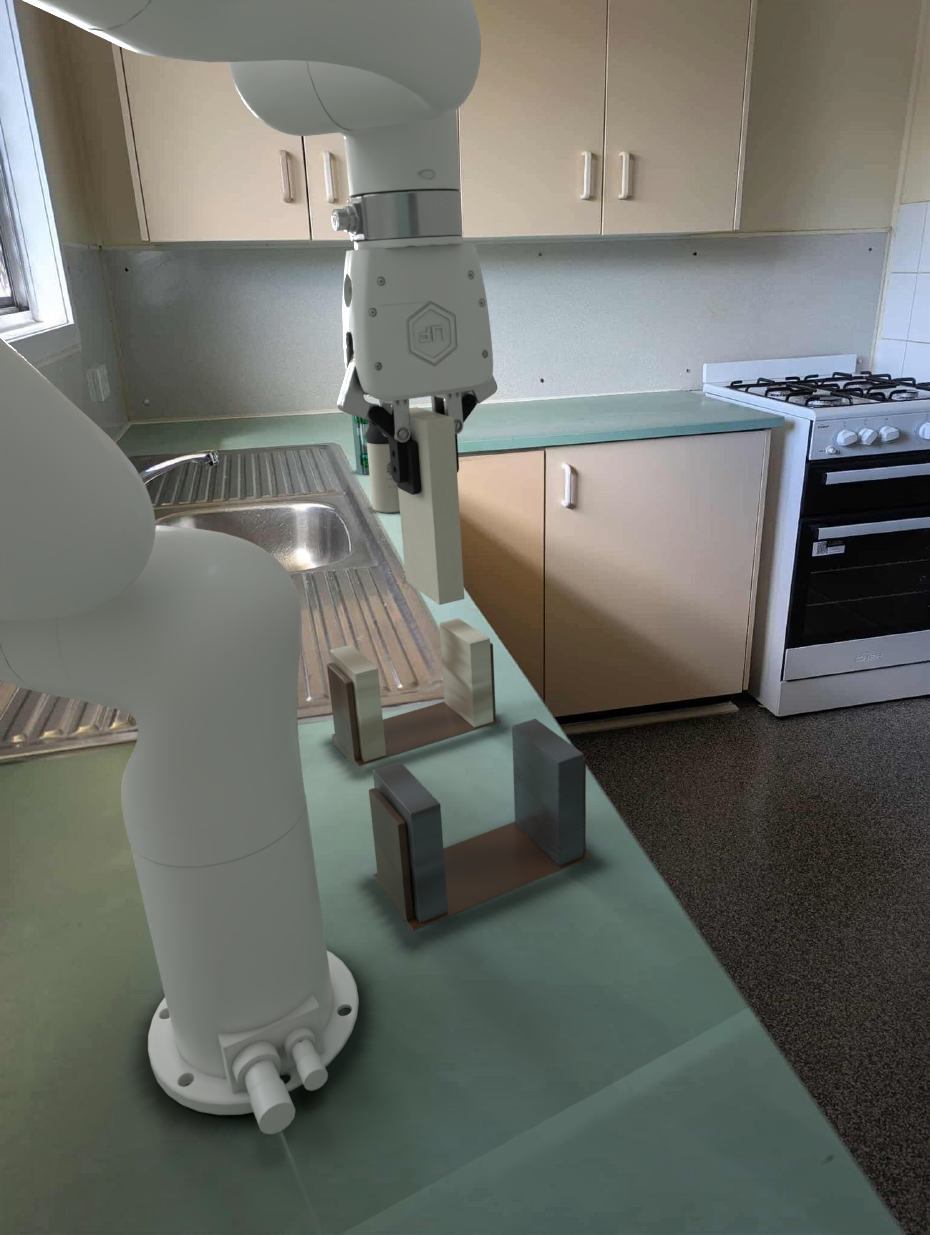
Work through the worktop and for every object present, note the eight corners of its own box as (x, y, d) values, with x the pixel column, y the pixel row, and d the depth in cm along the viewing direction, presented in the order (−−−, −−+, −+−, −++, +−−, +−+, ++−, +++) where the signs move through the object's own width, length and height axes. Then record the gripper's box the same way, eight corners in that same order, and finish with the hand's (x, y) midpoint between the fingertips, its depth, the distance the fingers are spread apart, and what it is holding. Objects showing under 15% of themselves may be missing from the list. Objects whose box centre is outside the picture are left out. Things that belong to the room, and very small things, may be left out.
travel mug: (370, 505, 173) (361, 413, 166) (409, 501, 175) (403, 409, 168) (375, 515, 166) (367, 419, 159) (417, 510, 167) (410, 415, 161)
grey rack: (593, 866, 67) (594, 752, 63) (413, 942, 60) (403, 819, 56) (542, 821, 72) (540, 714, 69) (373, 885, 66) (361, 770, 62)
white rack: (501, 730, 87) (498, 637, 83) (359, 775, 80) (349, 677, 77) (467, 703, 93) (463, 615, 89) (332, 743, 86) (321, 650, 82)
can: (367, 475, 198) (361, 408, 193) (352, 472, 203) (346, 406, 197) (389, 470, 202) (383, 404, 196) (374, 467, 206) (368, 402, 201)
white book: (464, 599, 68) (454, 417, 63) (439, 605, 67) (426, 421, 62) (429, 576, 73) (417, 406, 68) (405, 581, 72) (391, 410, 67)
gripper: (313, 227, 53) (345, 517, 61) (536, 217, 60) (541, 480, 67) (278, 232, 60) (311, 495, 67) (483, 223, 66) (493, 463, 73)
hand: (426, 485), depth 67 cm, fingers closed on white book, 2 cm apart
